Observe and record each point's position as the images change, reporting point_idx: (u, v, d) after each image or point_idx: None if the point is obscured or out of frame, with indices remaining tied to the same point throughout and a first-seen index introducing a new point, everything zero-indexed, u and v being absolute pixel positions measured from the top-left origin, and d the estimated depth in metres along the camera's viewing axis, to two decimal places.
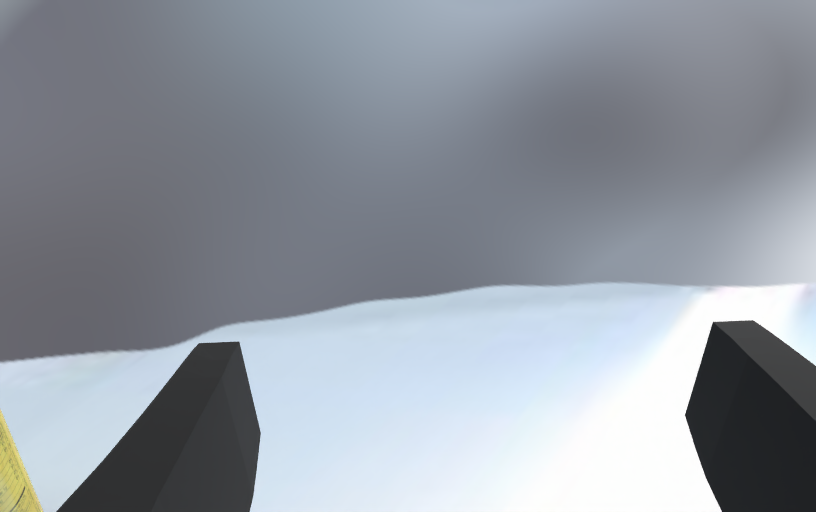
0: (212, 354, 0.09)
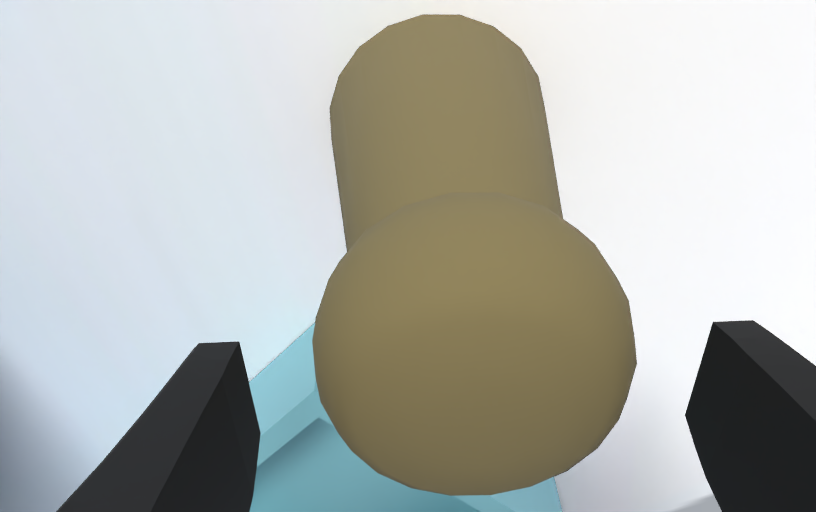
0: (212, 355, 0.09)
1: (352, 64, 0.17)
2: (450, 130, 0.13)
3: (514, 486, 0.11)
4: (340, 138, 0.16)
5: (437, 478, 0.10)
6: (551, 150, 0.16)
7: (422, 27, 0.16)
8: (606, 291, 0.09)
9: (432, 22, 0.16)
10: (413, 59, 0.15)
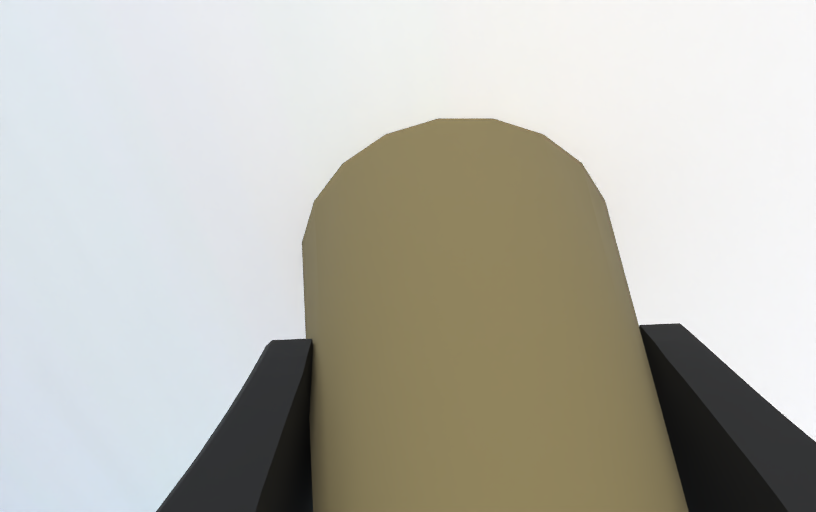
0: (288, 351, 0.09)
1: (333, 190, 0.12)
2: (498, 391, 0.07)
3: None
4: (312, 321, 0.10)
5: None
6: None
7: (438, 143, 0.11)
8: None
9: (452, 134, 0.11)
10: (426, 207, 0.10)
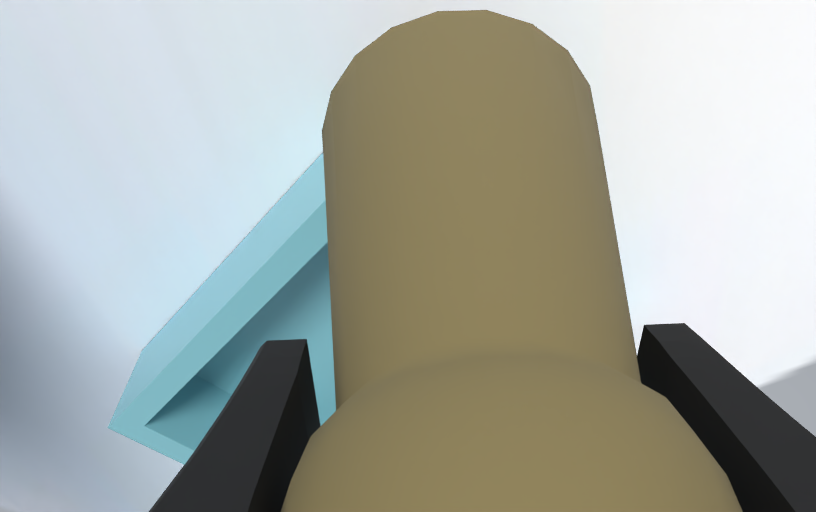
0: (283, 351, 0.09)
1: (347, 79, 0.13)
2: (473, 212, 0.09)
3: None
4: (330, 187, 0.12)
5: None
6: (609, 196, 0.12)
7: (436, 31, 0.12)
8: None
9: (449, 24, 0.12)
10: (424, 83, 0.11)
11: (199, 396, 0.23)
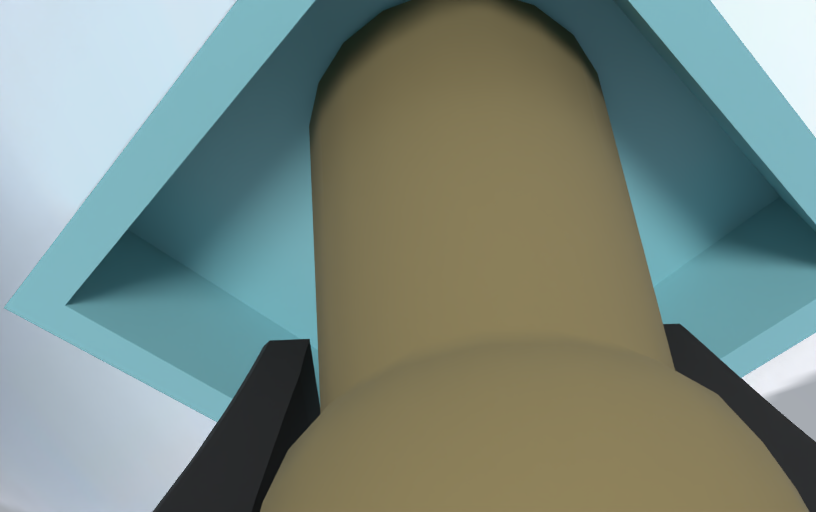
0: (286, 351, 0.09)
1: (335, 67, 0.12)
2: (477, 190, 0.08)
3: None
4: (316, 179, 0.11)
5: None
6: None
7: (431, 11, 0.11)
8: None
9: (446, 3, 0.11)
10: (419, 62, 0.10)
11: (163, 278, 0.15)
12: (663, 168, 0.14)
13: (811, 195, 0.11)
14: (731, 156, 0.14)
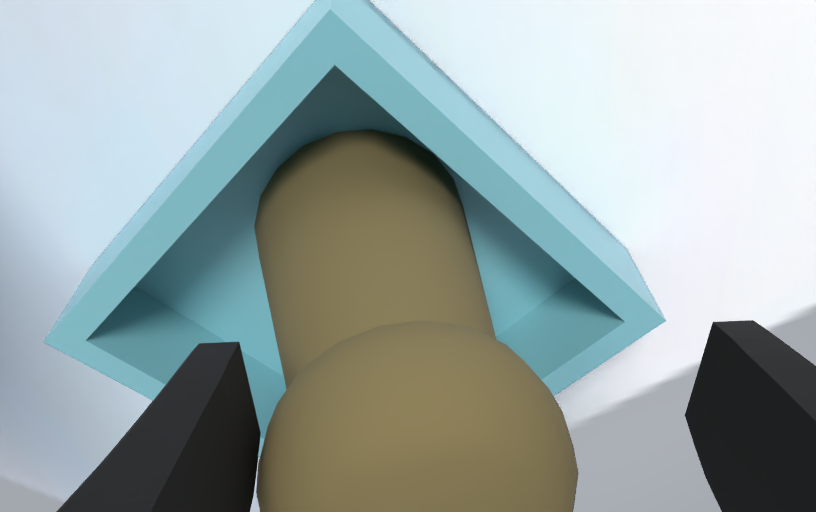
0: (212, 354, 0.09)
1: (273, 184, 0.17)
2: (375, 253, 0.13)
3: None
4: (267, 261, 0.16)
5: None
6: None
7: (337, 145, 0.17)
8: (540, 411, 0.10)
9: (346, 139, 0.17)
10: (332, 179, 0.16)
11: (153, 317, 0.20)
12: (510, 242, 0.20)
13: (583, 273, 0.17)
14: None
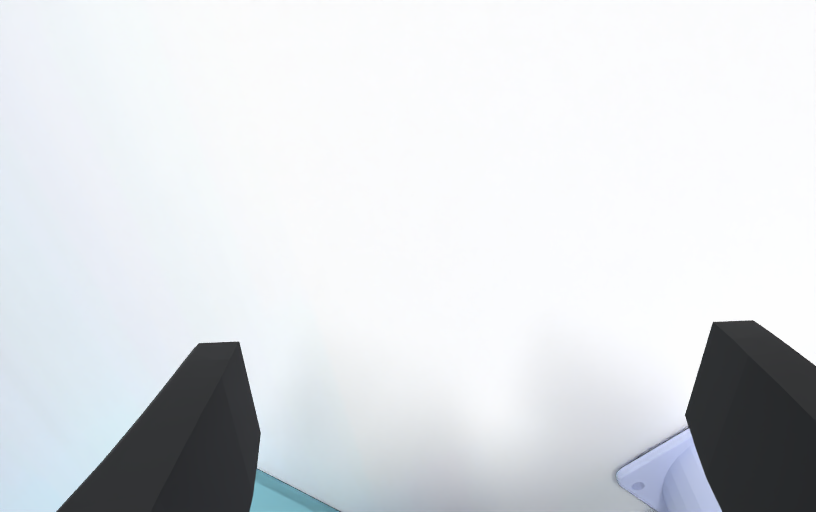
0: (212, 355, 0.09)
1: None
2: None
3: None
4: None
5: None
6: None
7: None
8: None
9: None
10: None
11: None
12: None
13: None
14: None
